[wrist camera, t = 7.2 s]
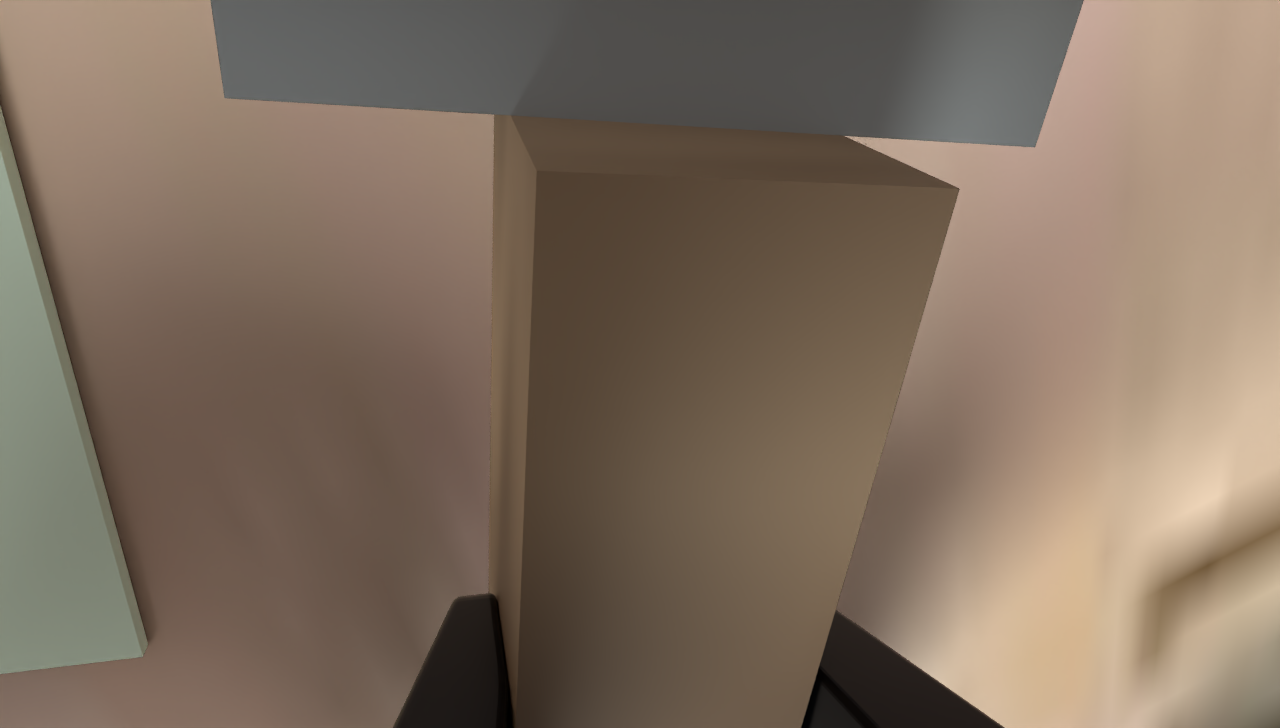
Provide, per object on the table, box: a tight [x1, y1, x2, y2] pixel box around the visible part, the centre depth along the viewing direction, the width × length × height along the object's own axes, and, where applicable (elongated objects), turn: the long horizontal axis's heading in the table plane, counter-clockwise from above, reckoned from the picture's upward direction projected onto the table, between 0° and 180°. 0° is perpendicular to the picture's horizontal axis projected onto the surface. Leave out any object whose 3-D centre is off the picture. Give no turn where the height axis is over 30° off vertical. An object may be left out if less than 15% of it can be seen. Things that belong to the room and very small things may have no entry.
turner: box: [211, 0, 1084, 728], centre depth 7 cm, size 15×6×3 cm, turn 174°
